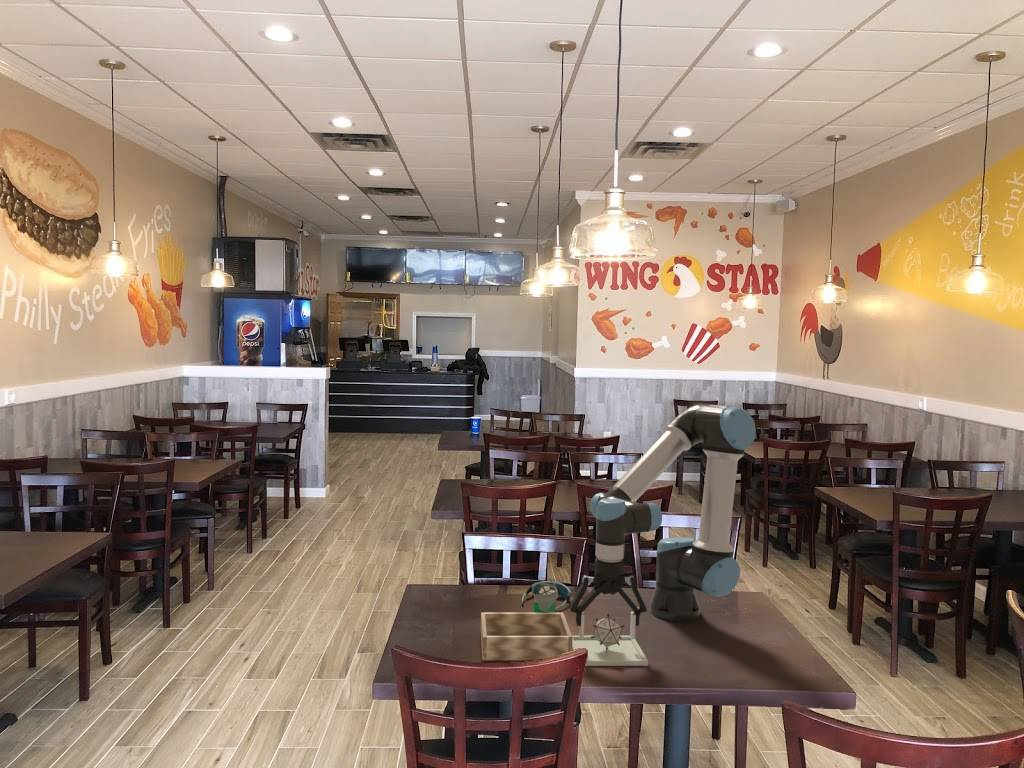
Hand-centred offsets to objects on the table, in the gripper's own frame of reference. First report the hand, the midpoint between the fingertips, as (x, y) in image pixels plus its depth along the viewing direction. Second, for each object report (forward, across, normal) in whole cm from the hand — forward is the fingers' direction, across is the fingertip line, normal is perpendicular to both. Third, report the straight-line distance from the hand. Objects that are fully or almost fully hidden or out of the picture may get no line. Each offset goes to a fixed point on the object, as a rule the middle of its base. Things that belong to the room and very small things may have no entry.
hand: (607, 637), depth 201 cm
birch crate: (+4, +22, -4) cm, 22 cm away
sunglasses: (+5, +12, -38) cm, 40 cm away
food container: (+4, +14, -21) cm, 25 cm away
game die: (+4, 0, 0) cm, 4 cm away
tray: (+4, 0, 0) cm, 4 cm away
